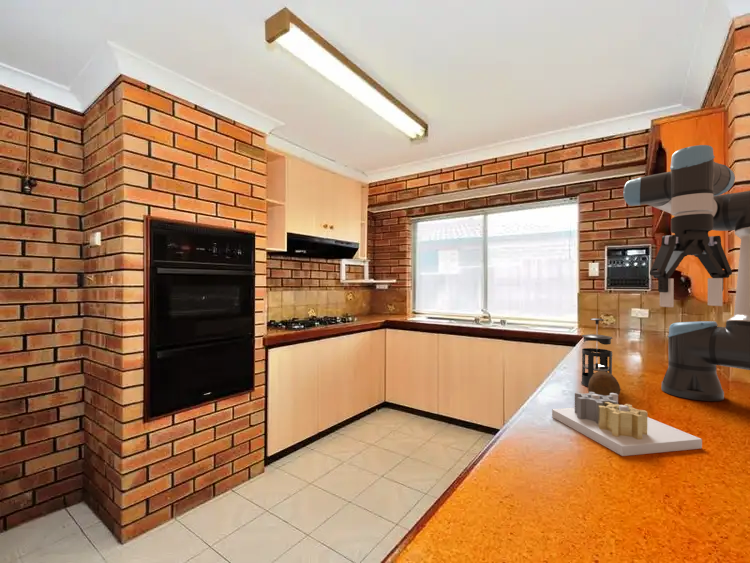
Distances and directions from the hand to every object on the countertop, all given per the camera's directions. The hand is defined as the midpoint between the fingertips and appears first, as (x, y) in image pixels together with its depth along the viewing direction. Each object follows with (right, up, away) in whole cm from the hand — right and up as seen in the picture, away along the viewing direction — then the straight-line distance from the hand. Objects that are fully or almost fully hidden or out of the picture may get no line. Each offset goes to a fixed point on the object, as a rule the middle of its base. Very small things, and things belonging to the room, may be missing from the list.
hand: (691, 306), depth 87 cm
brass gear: (-18, -28, -2) cm, 33 cm away
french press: (+3, -30, +41) cm, 51 cm away
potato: (-4, -30, +26) cm, 40 cm away
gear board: (-15, -30, +2) cm, 34 cm away
